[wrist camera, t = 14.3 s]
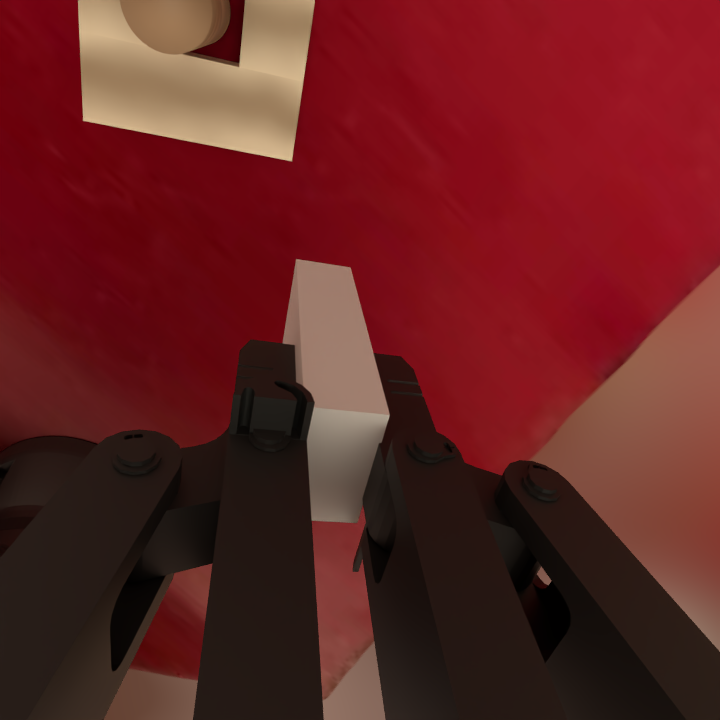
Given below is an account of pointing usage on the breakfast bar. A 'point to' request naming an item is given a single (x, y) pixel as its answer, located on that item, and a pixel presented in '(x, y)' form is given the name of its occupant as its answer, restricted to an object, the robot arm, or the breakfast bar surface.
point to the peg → (177, 23)
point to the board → (199, 80)
